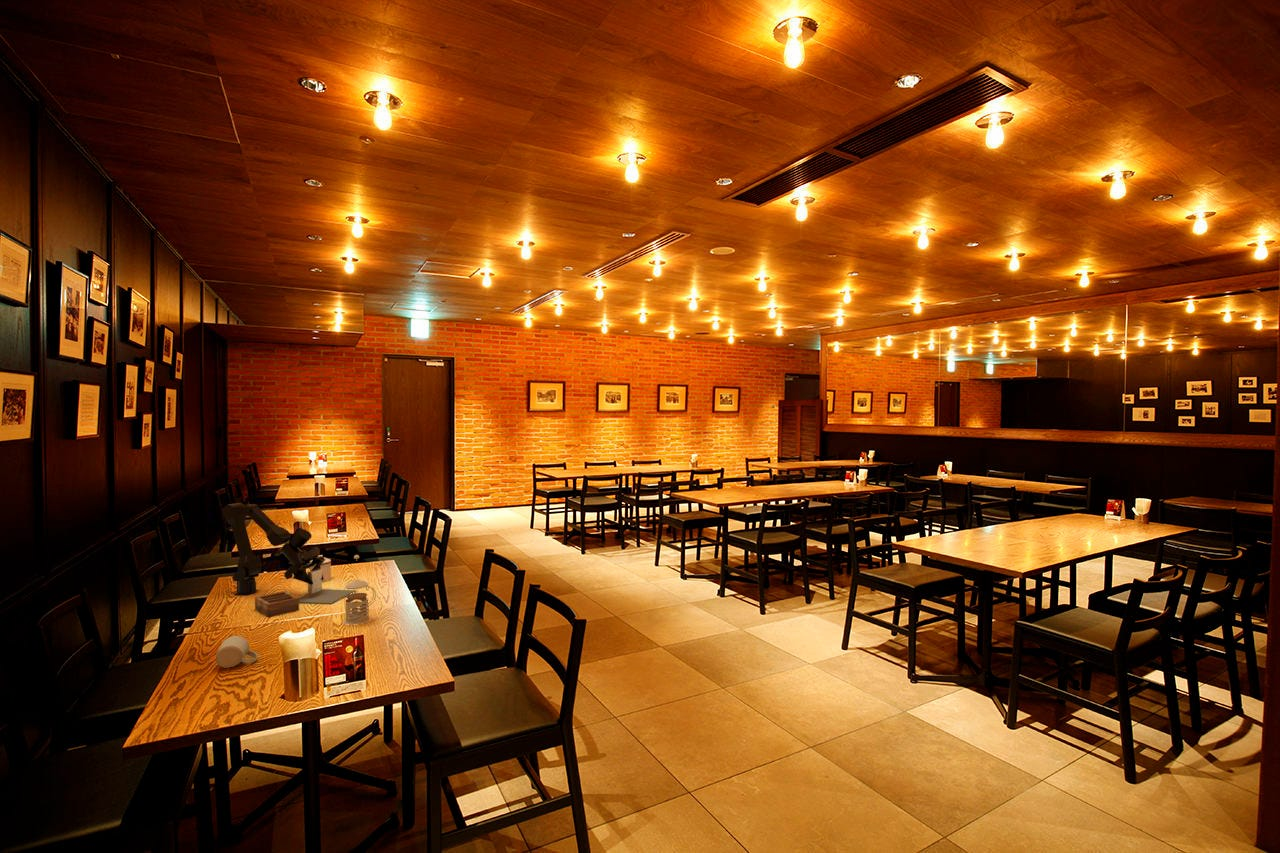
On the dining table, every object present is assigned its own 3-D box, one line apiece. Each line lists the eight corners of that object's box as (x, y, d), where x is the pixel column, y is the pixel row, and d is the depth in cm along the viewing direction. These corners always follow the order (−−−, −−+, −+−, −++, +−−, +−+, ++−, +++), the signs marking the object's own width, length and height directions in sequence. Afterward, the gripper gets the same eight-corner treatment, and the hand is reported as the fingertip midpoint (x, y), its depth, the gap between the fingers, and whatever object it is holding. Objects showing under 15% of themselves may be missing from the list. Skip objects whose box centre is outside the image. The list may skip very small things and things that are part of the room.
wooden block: (307, 593, 254) (307, 572, 253) (317, 589, 260) (317, 568, 259) (312, 593, 253) (312, 572, 253) (321, 589, 259) (321, 568, 259)
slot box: (255, 609, 240) (255, 597, 240) (285, 603, 248) (285, 591, 248) (267, 617, 231) (267, 604, 231) (298, 610, 239) (298, 597, 239)
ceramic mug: (214, 671, 182) (214, 646, 182) (220, 661, 190) (221, 636, 190) (255, 666, 187) (255, 641, 187) (260, 656, 194) (260, 632, 194)
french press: (338, 621, 227) (337, 555, 226) (369, 613, 235) (369, 550, 235) (348, 627, 220) (348, 559, 220) (380, 619, 229) (380, 554, 228)
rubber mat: (289, 603, 248) (289, 601, 248) (317, 590, 266) (317, 589, 266) (331, 604, 247) (331, 603, 247) (356, 591, 265) (355, 590, 265)
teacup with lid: (332, 576, 289) (332, 552, 288) (330, 581, 280) (330, 556, 280) (303, 579, 284) (303, 554, 284) (301, 584, 276) (300, 559, 276)
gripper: (290, 546, 247) (314, 575, 246) (321, 537, 266) (344, 563, 264) (273, 564, 249) (297, 593, 247) (305, 554, 267) (327, 580, 266)
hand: (317, 581), depth 256 cm, fingers closed on wooden block, 6 cm apart
